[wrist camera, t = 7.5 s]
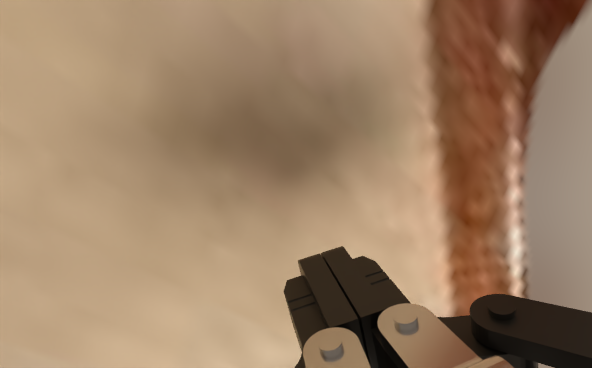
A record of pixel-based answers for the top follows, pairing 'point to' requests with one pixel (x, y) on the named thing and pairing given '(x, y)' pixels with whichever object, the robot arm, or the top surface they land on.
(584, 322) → the robot arm
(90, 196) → the top surface
